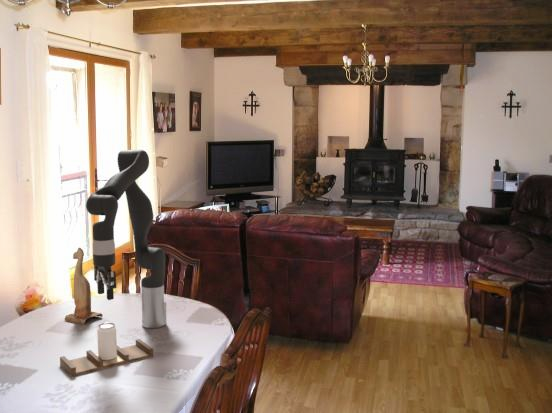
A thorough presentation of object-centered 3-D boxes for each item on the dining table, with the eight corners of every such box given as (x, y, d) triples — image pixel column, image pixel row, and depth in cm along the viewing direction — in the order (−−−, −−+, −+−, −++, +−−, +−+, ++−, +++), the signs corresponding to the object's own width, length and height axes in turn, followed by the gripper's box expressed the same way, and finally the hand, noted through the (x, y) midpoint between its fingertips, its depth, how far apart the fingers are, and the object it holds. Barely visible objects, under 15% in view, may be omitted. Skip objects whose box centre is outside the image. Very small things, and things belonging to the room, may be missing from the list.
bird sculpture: (82, 314, 272) (77, 243, 267) (103, 317, 267) (98, 245, 262) (64, 322, 262) (58, 248, 257) (85, 325, 257) (80, 250, 252)
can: (100, 354, 223) (99, 322, 221) (118, 353, 224) (117, 322, 222) (96, 361, 217) (95, 328, 215) (115, 360, 217) (114, 328, 216)
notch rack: (139, 346, 234) (139, 338, 234) (153, 356, 225) (153, 348, 224) (60, 365, 216) (59, 357, 216) (71, 376, 207) (71, 368, 206)
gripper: (122, 254, 211) (123, 299, 213) (106, 246, 222) (108, 290, 225) (101, 257, 207) (103, 303, 209) (86, 249, 218) (87, 293, 220)
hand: (105, 296), depth 217 cm, fingers open, 8 cm apart
